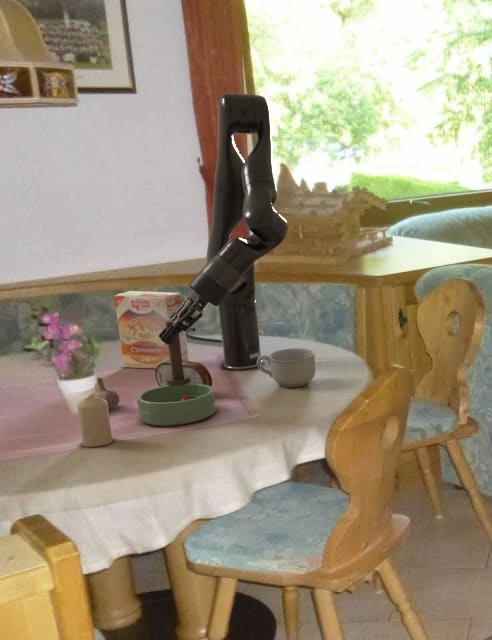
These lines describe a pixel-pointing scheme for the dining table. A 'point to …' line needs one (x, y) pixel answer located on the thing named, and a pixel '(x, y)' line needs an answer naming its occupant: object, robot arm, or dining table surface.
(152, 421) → the bowl
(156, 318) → the coffeecake box
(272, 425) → the dining table surface
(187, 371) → the tin
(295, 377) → the teacup
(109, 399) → the garlic bulb
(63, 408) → the dining table surface
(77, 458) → the dining table surface
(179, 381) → the muddler
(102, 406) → the candle
